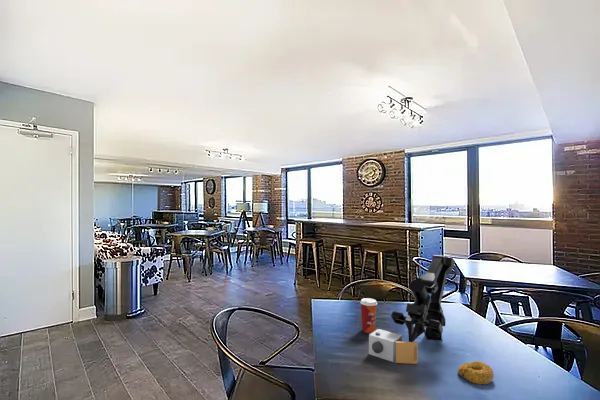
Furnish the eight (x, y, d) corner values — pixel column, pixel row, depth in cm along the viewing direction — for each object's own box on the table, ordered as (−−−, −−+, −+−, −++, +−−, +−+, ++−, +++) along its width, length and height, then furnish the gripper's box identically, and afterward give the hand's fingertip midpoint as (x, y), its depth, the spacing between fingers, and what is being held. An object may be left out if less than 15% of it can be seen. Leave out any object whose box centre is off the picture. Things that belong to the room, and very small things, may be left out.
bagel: (461, 366, 122) (461, 353, 122) (496, 377, 115) (496, 363, 115) (453, 378, 114) (454, 364, 114) (490, 390, 107) (491, 375, 107)
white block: (378, 347, 137) (378, 327, 137) (401, 354, 130) (402, 334, 130) (367, 355, 129) (367, 334, 129) (391, 363, 123) (392, 341, 123)
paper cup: (372, 335, 149) (372, 303, 149) (356, 331, 153) (357, 300, 153) (379, 330, 155) (380, 299, 155) (364, 326, 160) (365, 296, 160)
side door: (416, 362, 124) (416, 341, 124) (417, 364, 123) (417, 343, 123) (393, 361, 124) (393, 340, 124) (394, 363, 123) (394, 342, 123)
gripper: (393, 290, 136) (380, 325, 127) (441, 299, 124) (430, 338, 116) (400, 305, 142) (389, 339, 133) (446, 315, 130) (437, 353, 122)
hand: (410, 342), depth 126 cm, fingers closed
